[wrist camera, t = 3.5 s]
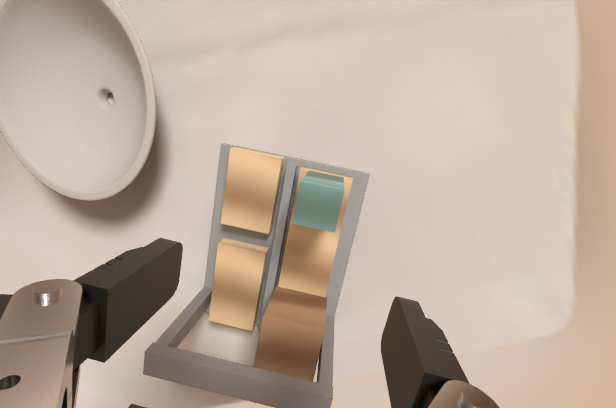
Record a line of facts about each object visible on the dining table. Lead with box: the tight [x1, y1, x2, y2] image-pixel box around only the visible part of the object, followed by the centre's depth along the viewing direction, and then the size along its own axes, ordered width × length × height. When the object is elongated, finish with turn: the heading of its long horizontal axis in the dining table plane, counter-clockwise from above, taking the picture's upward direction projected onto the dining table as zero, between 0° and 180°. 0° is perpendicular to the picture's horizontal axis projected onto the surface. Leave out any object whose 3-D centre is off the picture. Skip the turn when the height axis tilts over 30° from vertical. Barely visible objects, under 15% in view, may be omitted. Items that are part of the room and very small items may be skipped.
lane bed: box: [143, 144, 369, 408], centre depth 25 cm, size 18×14×11 cm
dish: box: [0, 0, 156, 201], centre depth 26 cm, size 18×14×5 cm
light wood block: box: [221, 147, 285, 234], centre depth 28 cm, size 7×5×2 cm, turn 169°
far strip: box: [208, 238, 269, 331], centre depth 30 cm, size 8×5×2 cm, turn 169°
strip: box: [278, 166, 353, 297], centre depth 26 cm, size 17×5×8 cm, turn 169°
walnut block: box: [254, 286, 327, 382], centre depth 27 cm, size 5×5×5 cm
